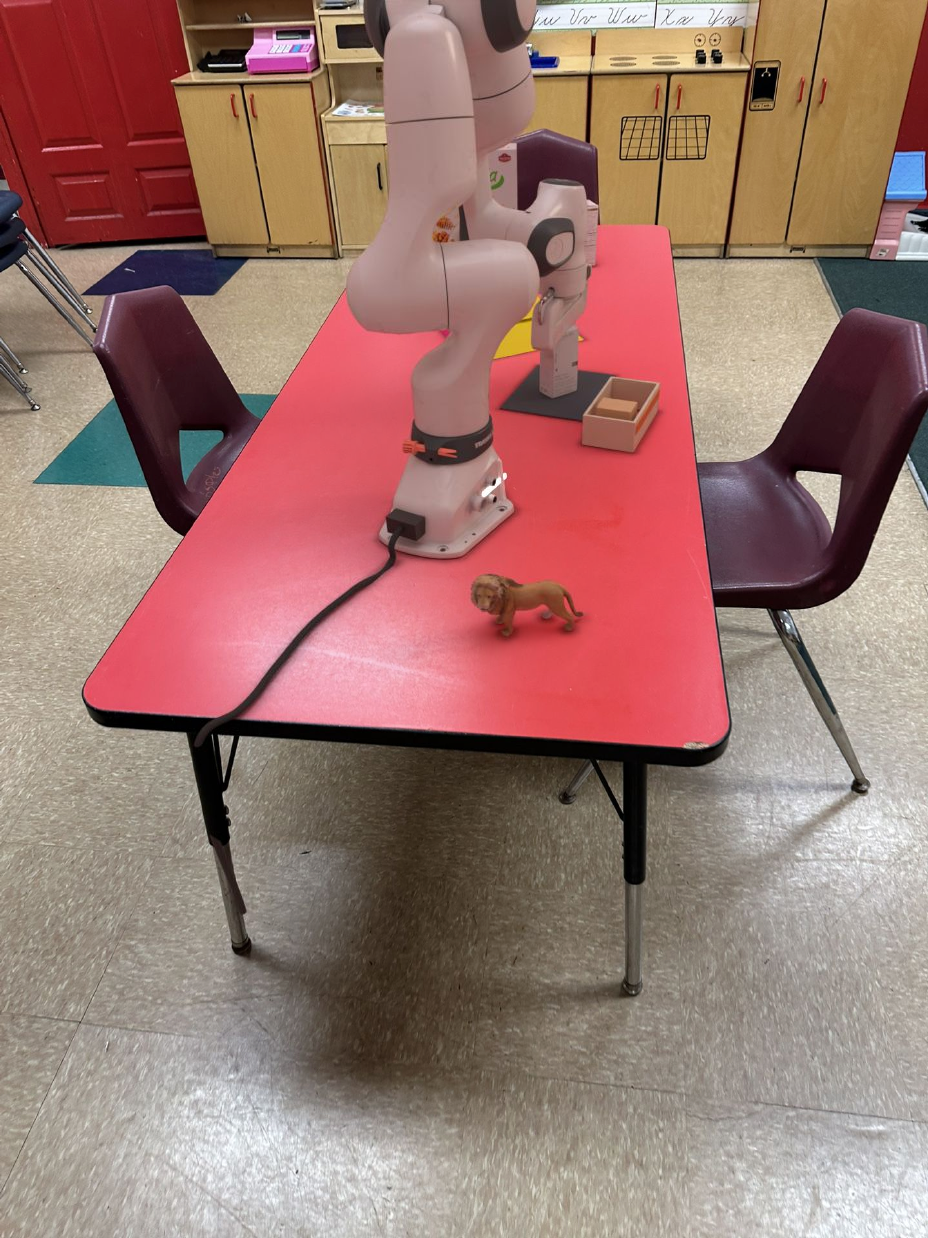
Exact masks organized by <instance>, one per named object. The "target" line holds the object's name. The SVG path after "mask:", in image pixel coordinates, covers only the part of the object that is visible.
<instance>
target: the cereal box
mask: <svg viewBox="0 0 928 1238" xmlns="http://www.w3.org/2000/svg"><path fill="white" fill-rule="evenodd" d="M517 144H518V142H510V143H509V144H507V145H506V146H504V147H502V148H500V149H497V150H495V151H492V152H489V153H488V163H489V173H490V182H491V192H492V197H493V199H494V200H495V201H496V202H497V203H498V204H499V205H501V206H503V207H505V208H509V209H515V210H518V151H517V150H518V147H517V146H518V145H517ZM459 224H460V218H459V208H457V209H455V210H454V211H452V212H451V213H449V214H448V215H446V216H444V217H443V218H442V219H440V220H439V221H438V223H437V224H436V226H435V228H434V231H433V240H434V241H435V242H439V243H444V242H455V241H459Z"/></svg>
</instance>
